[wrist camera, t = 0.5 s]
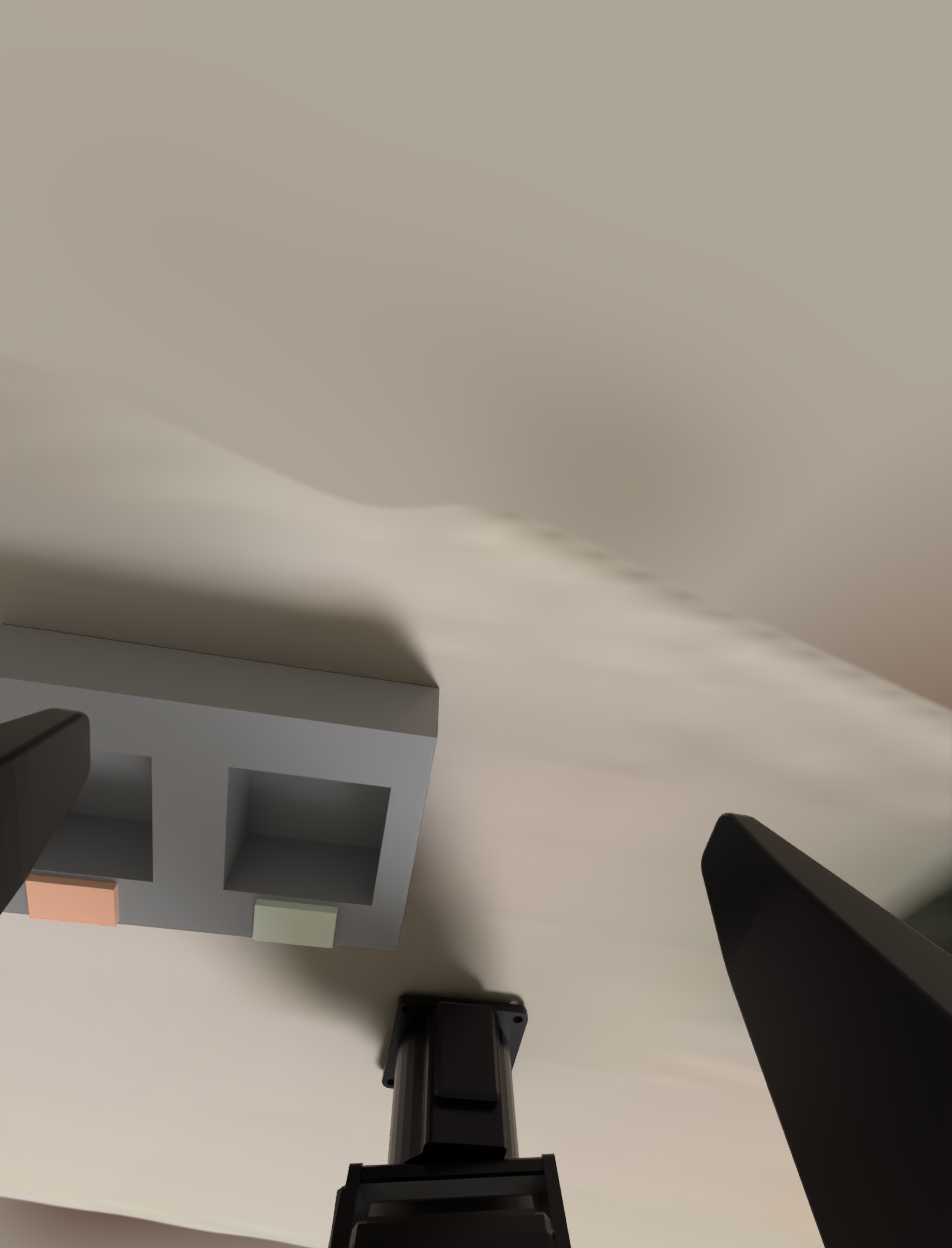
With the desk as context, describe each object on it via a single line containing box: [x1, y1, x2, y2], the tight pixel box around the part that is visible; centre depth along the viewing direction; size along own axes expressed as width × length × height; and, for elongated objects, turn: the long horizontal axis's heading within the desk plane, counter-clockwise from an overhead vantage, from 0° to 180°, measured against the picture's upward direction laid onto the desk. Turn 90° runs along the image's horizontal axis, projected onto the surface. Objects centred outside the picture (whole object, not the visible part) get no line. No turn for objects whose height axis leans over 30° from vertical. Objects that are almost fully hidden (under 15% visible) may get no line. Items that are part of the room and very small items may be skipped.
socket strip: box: [0, 624, 439, 952], centre depth 23 cm, size 10×16×4 cm, turn 79°
